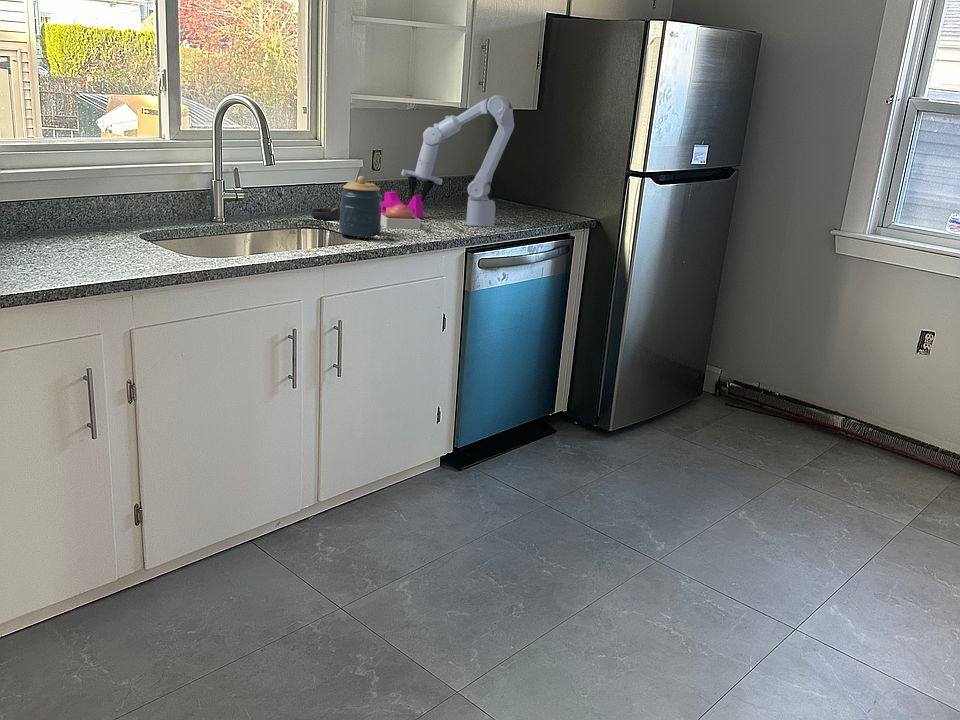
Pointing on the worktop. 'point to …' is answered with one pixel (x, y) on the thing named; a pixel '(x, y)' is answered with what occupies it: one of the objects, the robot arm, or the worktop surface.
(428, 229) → the game lane
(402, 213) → the dome
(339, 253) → the worktop surface
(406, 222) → the white square frame
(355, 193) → the canister
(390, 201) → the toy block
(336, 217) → the soup bowl
